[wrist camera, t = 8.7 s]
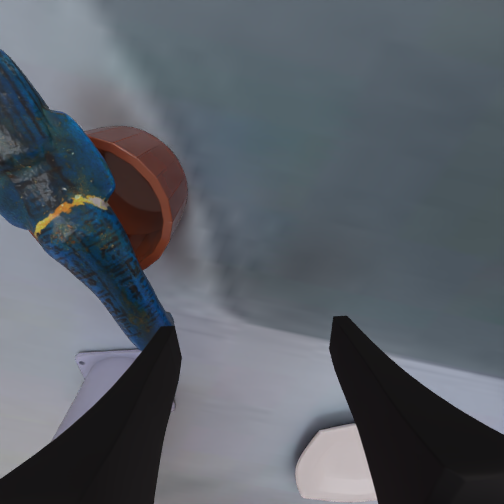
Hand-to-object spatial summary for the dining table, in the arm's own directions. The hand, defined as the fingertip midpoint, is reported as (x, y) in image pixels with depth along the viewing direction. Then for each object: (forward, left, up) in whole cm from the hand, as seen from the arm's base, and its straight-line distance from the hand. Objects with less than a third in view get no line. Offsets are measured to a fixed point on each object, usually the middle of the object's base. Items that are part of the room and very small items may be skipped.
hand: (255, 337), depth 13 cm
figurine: (+4, +8, -5) cm, 10 cm away
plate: (-32, -14, -9) cm, 36 cm away
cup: (+4, +8, -10) cm, 14 cm away
